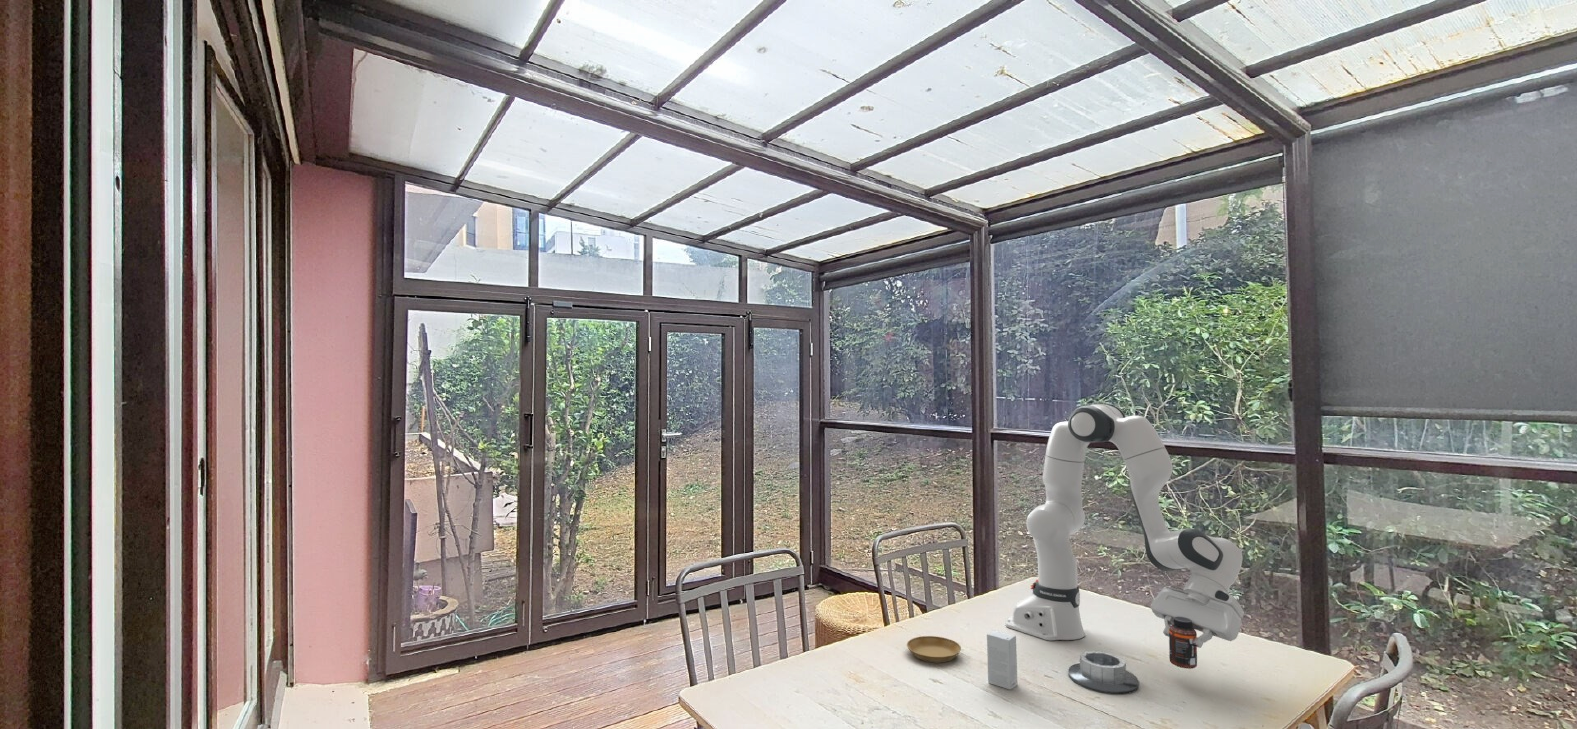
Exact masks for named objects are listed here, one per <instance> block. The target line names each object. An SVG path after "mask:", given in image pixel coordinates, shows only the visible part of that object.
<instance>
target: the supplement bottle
mask: <svg viewBox="0 0 1577 729" xmlns="http://www.w3.org/2000/svg"><path fill="white" fill-rule="evenodd" d="M1173 623H1174V624H1173V625H1171V626H1170V628H1169V637H1168V638H1169V639H1168V645H1169V652H1168V653H1169V662H1170V663H1171V664H1172V665H1174V666H1176V667H1178V668H1181V669H1188V670H1191V669H1192V670H1193V669H1195V668H1197V666H1198V647H1196V646H1194V645H1193V644H1192V641H1193V640H1194V637H1198V636H1197V630H1195V629H1193V627H1192V620H1190V619H1188V618H1185V617H1174V620H1173Z"/></svg>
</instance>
